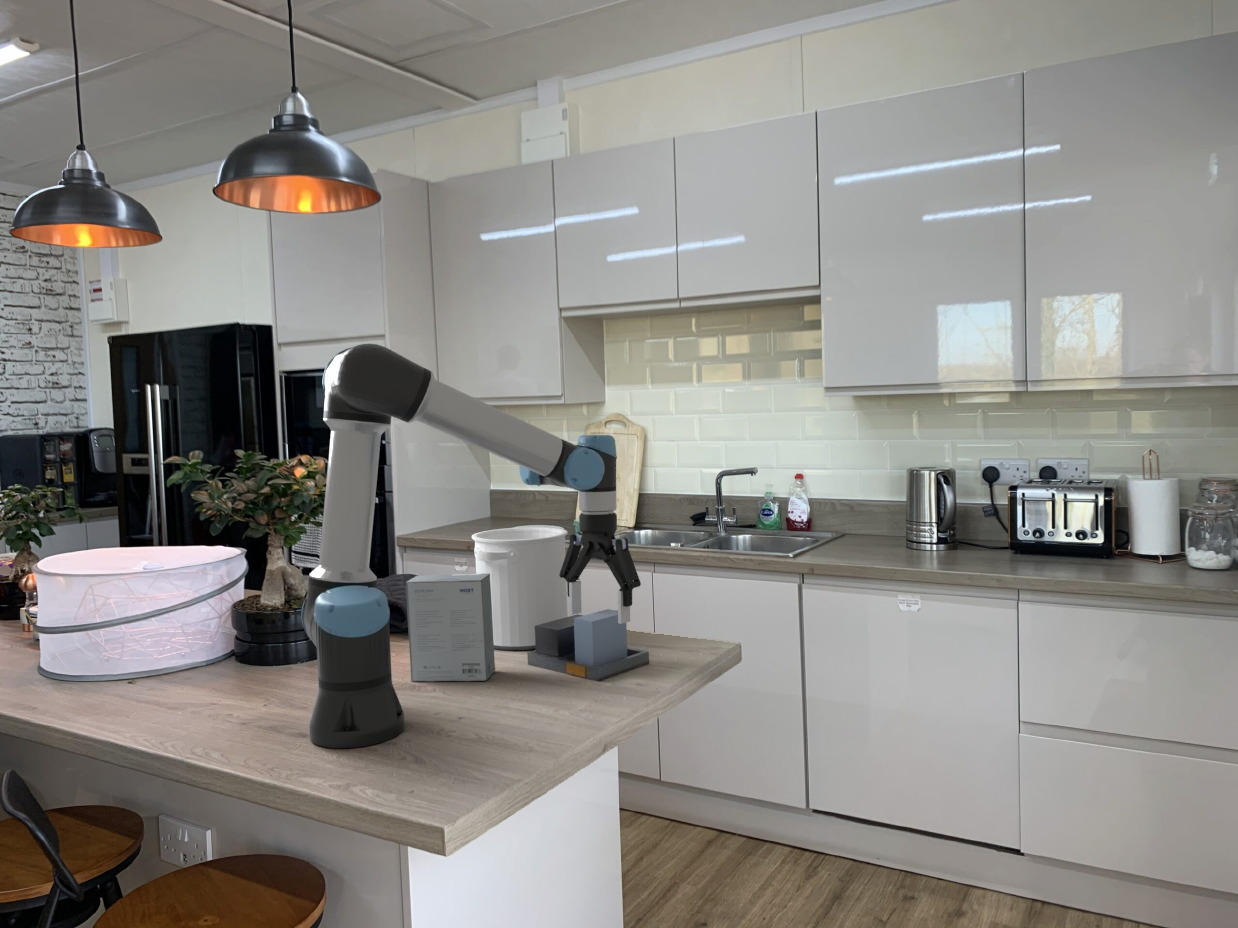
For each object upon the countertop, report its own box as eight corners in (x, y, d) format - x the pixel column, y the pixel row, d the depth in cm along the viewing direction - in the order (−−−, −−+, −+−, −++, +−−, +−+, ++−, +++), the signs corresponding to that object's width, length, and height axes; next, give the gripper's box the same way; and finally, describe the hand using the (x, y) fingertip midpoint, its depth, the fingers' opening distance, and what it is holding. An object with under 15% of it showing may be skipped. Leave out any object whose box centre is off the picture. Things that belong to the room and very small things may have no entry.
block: (593, 671, 183) (591, 621, 182) (575, 667, 186) (573, 618, 186) (627, 660, 190) (626, 612, 190) (609, 656, 194) (607, 609, 193)
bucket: (525, 659, 196) (521, 543, 195) (449, 647, 208) (445, 538, 207) (594, 632, 218) (591, 528, 216) (522, 623, 230) (518, 524, 228)
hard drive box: (496, 670, 189) (492, 572, 187) (487, 682, 181) (483, 580, 180) (421, 670, 190) (416, 573, 189) (409, 682, 182) (404, 581, 181)
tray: (598, 681, 179) (596, 640, 178) (527, 664, 192) (525, 626, 192) (649, 663, 190) (647, 624, 190) (578, 648, 203) (577, 612, 203)
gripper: (657, 514, 181) (658, 623, 182) (567, 507, 197) (568, 606, 199) (632, 517, 175) (633, 629, 176) (541, 509, 192) (543, 612, 193)
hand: (599, 617), depth 188 cm, fingers open, 13 cm apart
